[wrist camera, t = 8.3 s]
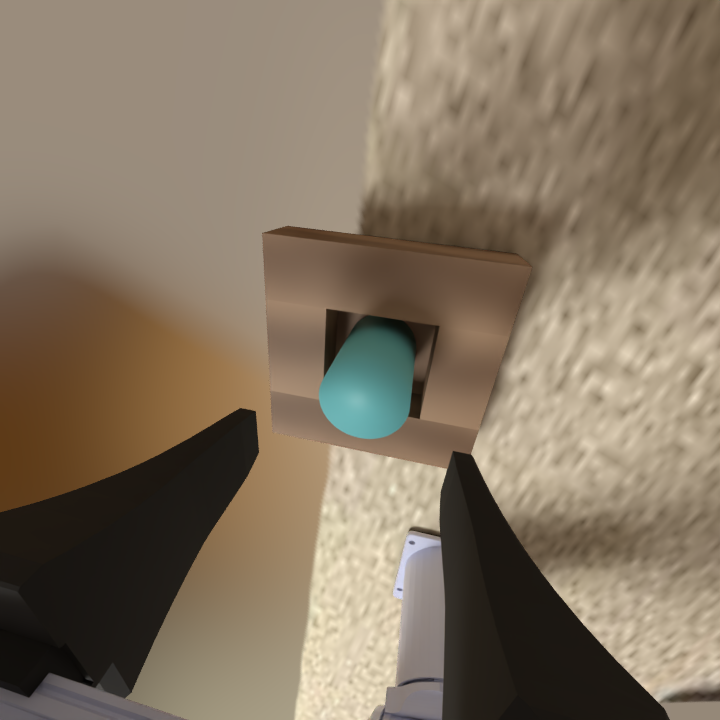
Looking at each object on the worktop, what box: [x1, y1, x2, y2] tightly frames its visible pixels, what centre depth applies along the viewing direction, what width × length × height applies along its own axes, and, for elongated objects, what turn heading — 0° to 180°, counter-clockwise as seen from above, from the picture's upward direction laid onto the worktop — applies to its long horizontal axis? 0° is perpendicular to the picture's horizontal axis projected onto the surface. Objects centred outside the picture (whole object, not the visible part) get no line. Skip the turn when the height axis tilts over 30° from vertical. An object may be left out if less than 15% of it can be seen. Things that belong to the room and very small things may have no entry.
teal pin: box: [319, 315, 416, 439], centre depth 17 cm, size 4×4×6 cm
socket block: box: [262, 226, 532, 469], centre depth 19 cm, size 12×12×3 cm
